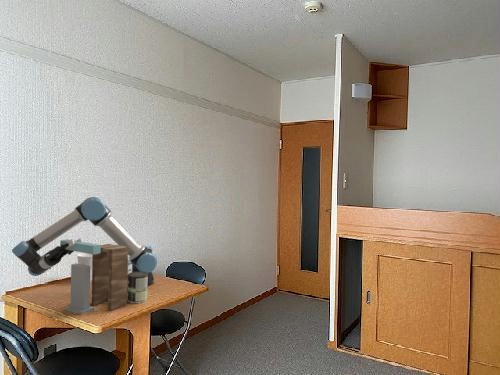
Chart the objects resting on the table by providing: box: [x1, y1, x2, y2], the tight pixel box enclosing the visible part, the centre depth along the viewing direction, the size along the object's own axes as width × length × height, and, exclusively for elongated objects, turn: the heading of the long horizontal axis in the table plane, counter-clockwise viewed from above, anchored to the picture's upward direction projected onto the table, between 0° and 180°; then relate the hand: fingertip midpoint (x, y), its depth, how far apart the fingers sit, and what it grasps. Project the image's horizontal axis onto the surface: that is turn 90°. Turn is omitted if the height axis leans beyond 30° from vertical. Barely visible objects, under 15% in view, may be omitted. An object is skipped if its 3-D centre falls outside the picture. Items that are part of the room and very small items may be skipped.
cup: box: [76, 252, 93, 282], centre depth 233 cm, size 12×12×16 cm
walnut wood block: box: [90, 243, 129, 312], centre depth 189 cm, size 14×10×30 cm
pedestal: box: [64, 262, 95, 315], centre depth 181 cm, size 12×7×22 cm, turn 62°
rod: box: [59, 239, 102, 255], centre depth 181 cm, size 24×4×4 cm, turn 62°
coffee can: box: [127, 272, 148, 304], centre depth 199 cm, size 10×10×14 cm
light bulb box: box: [127, 255, 132, 275], centre depth 255 cm, size 11×7×11 cm, turn 79°
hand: (77, 240), depth 182 cm, fingers closed on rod, 4 cm apart
